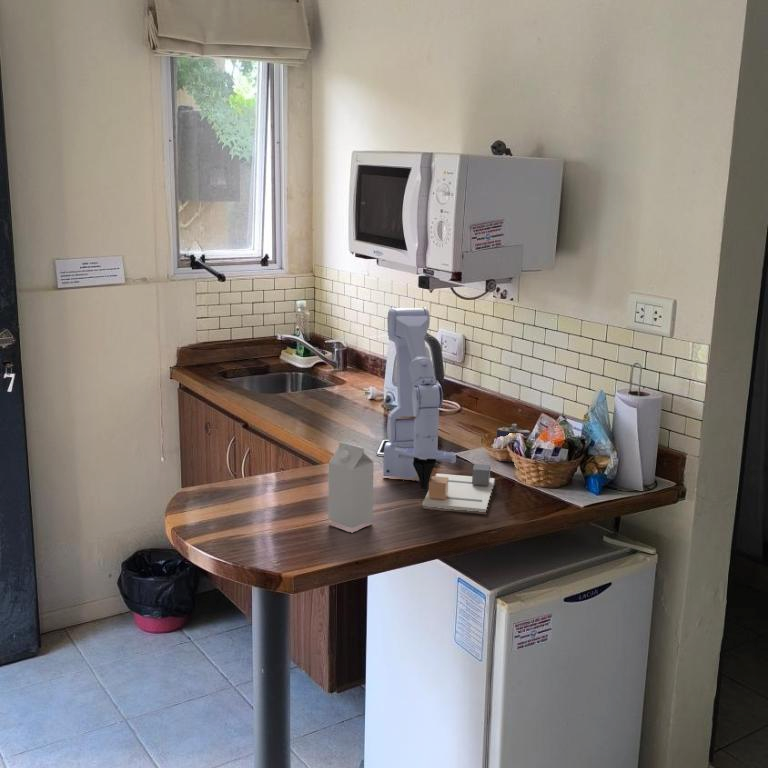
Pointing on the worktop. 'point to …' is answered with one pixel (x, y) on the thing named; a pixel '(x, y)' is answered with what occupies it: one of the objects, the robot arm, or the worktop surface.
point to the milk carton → (350, 486)
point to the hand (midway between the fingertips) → (424, 488)
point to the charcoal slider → (481, 474)
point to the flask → (511, 431)
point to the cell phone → (382, 447)
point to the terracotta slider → (438, 487)
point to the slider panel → (462, 494)
